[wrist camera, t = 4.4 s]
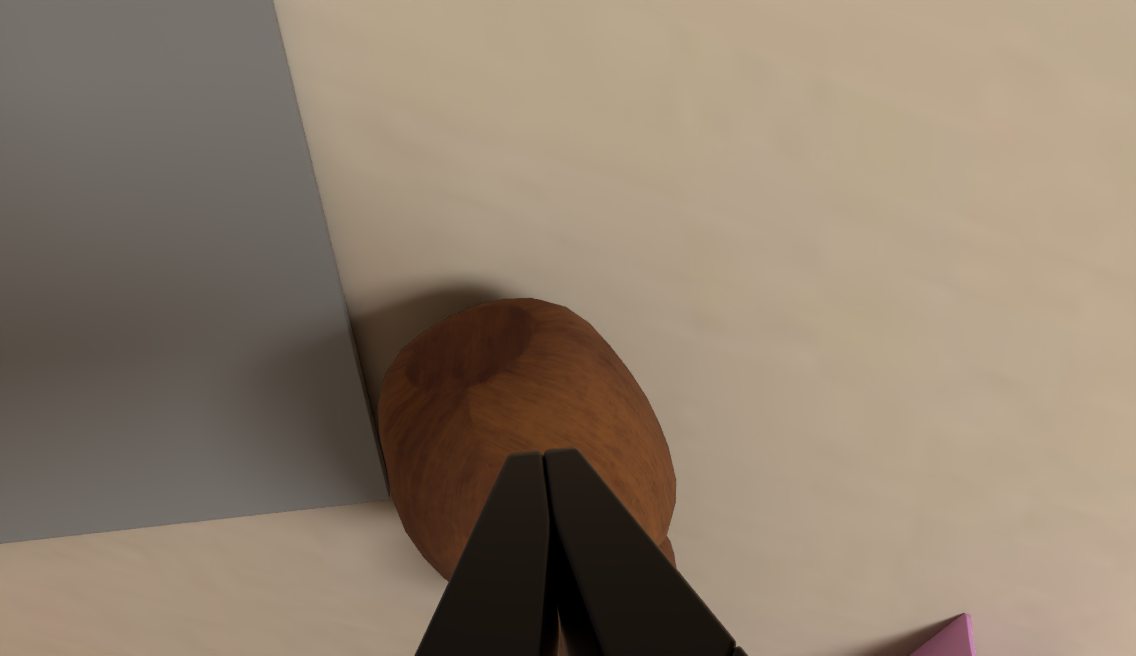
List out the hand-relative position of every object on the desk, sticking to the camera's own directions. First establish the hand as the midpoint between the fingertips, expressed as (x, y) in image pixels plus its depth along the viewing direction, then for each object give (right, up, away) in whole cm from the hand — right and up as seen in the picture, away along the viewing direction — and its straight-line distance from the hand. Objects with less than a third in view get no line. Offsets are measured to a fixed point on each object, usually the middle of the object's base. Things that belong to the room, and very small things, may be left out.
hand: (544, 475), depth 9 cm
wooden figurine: (-2, +2, +8) cm, 8 cm away
